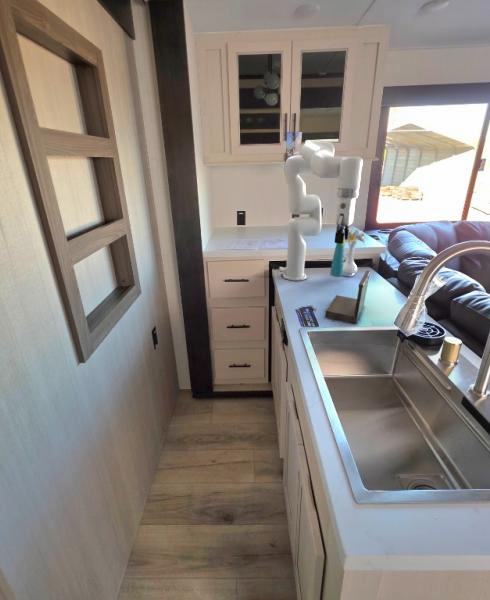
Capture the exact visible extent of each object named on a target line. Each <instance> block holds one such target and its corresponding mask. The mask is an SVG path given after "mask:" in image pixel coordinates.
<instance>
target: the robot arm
mask: <svg viewBox="0 0 490 600" xmlns="http://www.w3.org/2000/svg"><path fill="white" fill-rule="evenodd" d="M335 149H336V148H335V145H334V144H333V143H332V142H331V141H329V140H310V141H307V142H305V143H304V144H303V145H302V146H301V148H300V154H298V155H297V154H296V155H291V156H289V157H288V158H287V159H286V160H285V163H284V169H283V170H284V177H285V181H286V183H287V184H286V185H287V190H288V191H287V193H288V194H287V195H288V209H289V212H290V214H292V215H299V216H296V217H292V218H290V219H288V221H287V223H286V232H287V251H286V252H287V253H286V266H285V267H283V266H279V268H278V271H279V272H281V273H282V277H283V279H285V280H289V281H294V282H298V281H303V280H305V279H307V274H306V273H305V266H306V265H305V264H306V263H305V262H306V253H307V243H306V242H305V239H304V238H303V237H313V236H318V235H319V234H320V233H321V231H322V226H323V225H322V223H323V222H322V203H321V202H322V201H321V199H320V197H319V196H318V195H317V194H307V192H306V191H307V190H306V189H307V188H306V183H305V182H304V179H302V177H301V176H302V175H306V176H307V175H311V176H313V175H314V176H317V177H318V178H320V179H338V181H337V188H336V196H335V198H337V199H338V201H337V208H336V214H335V225H336V230H335V235H334V244H337V243H340V244H343V241H344V234H345V239H348V233H349V230H350V226H351V225H352V224H353V223H354V219H355V217H354V216H355V209H356V208H355V206H356V199H358V196H359V190H360V184H361V177H362V169H363V164H364V160H363V158H362V157H360V156H339V155H338V156H337V155H336V156H335V152H336V151H335ZM300 215H308V216H300ZM344 232H345V233H344Z"/></svg>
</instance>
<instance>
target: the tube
mask: <svg viewBox="0 0 490 600" xmlns="http://www.w3.org/2000/svg"><path fill="white" fill-rule="evenodd" d="M344 233H345V232H344ZM345 245H346V242H345V234H344V241H343V244H340V243H335V247H334V252H333V257H332V262H331V267H330V271H329V275H330V276H331V277H335V278H340V277H343V276H344V275H343V265H344V262H345V248H346V247H345Z"/></svg>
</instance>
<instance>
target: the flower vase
mask: <svg viewBox="0 0 490 600" xmlns="http://www.w3.org/2000/svg"><path fill="white" fill-rule="evenodd" d="M365 239H366V237H365V233H363V231H360V233H359V230H358V229H355V230H353V228H349V233H348V239H345V243H347V244H348V250H347V255H346V256H347V257H346V259H345V260H344V265H343V275H342V276H344V277H354V275H355V274H356V273H357V272H358V269H359V268H358V267H357V265H356V263H355V260H354V255H355V248H356V245H357V243H358V241H360V242H362V243H363V244H364V245H366V241H365Z"/></svg>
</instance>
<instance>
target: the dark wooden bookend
mask: <svg viewBox="0 0 490 600" xmlns="http://www.w3.org/2000/svg"><path fill="white" fill-rule="evenodd" d="M370 275H371V270H365V272H364V274H363V276H362V278H361V280H360V282H359V284H358V291H357V295H356V296H357V298H354V297H350V296H349V297H348V296H344V295H343V296H342V295H338V294H336V295H335V296H334V298H333V299H332V301H331V303H329V306H328V307H327V309H326V310H325V314H324V317H325V318H327V319H331V320H336V321H339V322H340V321H341V322H345V323H348V324H349V323H350V324H355V325H356V324H357V323H358V321H359V319H360V317H361V314H362V311H363V309H364V305H365V301H366V295H367V289H368V283H369V278H370Z"/></svg>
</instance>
